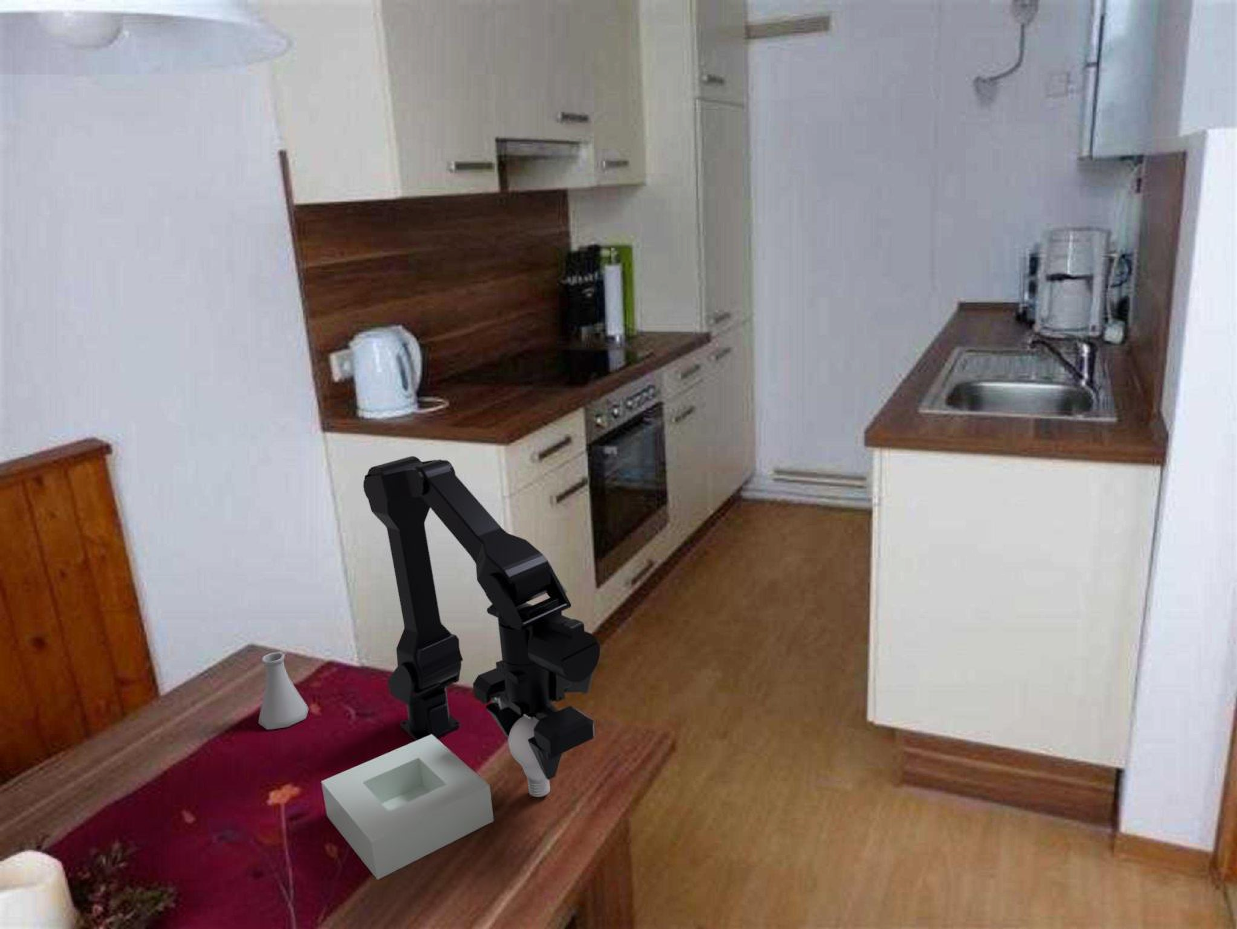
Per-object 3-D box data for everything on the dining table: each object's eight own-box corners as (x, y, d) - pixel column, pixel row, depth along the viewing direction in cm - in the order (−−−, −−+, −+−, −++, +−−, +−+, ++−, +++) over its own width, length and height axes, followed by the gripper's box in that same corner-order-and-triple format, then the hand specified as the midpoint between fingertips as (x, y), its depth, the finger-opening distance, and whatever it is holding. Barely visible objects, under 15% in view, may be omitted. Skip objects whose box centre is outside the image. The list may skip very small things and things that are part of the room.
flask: (255, 713, 141) (243, 653, 138) (304, 699, 144) (294, 640, 142) (262, 736, 135) (250, 674, 132) (313, 720, 138) (302, 659, 135)
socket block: (327, 816, 116) (321, 781, 115) (436, 767, 125) (431, 734, 124) (377, 879, 105) (371, 842, 103) (493, 820, 113) (489, 785, 112)
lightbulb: (575, 794, 118) (568, 716, 114) (534, 817, 114) (526, 738, 110) (544, 773, 122) (537, 698, 119) (504, 795, 118) (495, 718, 115)
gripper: (626, 657, 110) (634, 773, 114) (539, 609, 124) (549, 713, 129) (547, 692, 103) (558, 813, 108) (465, 636, 118) (478, 745, 122)
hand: (537, 766), depth 117 cm, fingers closed on lightbulb, 6 cm apart
